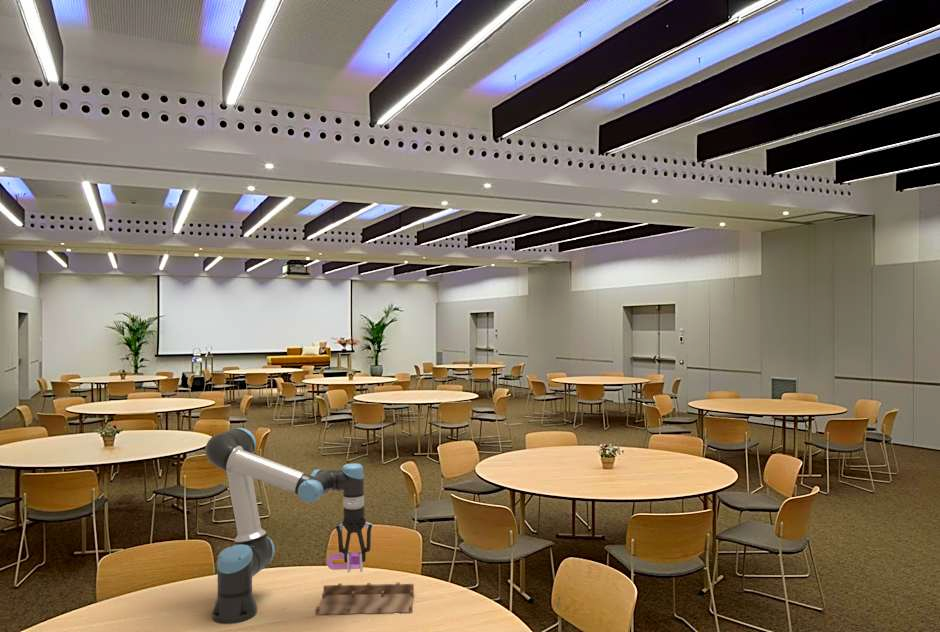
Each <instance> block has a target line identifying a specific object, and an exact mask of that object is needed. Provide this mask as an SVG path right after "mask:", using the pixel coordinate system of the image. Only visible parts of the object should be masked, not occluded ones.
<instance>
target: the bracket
mask: <svg viewBox="0 0 940 632" xmlns="http://www.w3.org/2000/svg"><path fill="white" fill-rule="evenodd" d="M349 552H350V551H349ZM360 552H361V551H353V552H350V563H351V565H350V569H351V570H357V569H358V570H360ZM334 560H344V553H342V552H341V553H340V552H339V553H332V554H330V555H329V556H328V558H327V560H326V565H327V567H328V569H330V570H332V571H335V570H336V571H339V570H341V571H342V570H347V563H336V564H335V563H334V562H333V561H334Z"/></svg>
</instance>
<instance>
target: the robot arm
mask: <svg viewBox="0 0 940 632" xmlns="http://www.w3.org/2000/svg"><path fill="white" fill-rule="evenodd" d="M256 447H257V440H256V438H255V435H254V434H253V433H252V431H249V430H248V429H247V428H243V427H238V428H231V429H229V430H226V431H224V432H219V433H216V434H214V435H212V437H210V439H208V440H207V443H206V445H205V448H204V450H205V451H204V454H205V458H206V459H207V461H208V462H209V463H210V464H212V465H213V466H215V467H217V468H218V469H220V470H223V471H225V472H226V473H227V480H228V484H229V491H230V496H231V497H230V498H231V502H232V503H231V504H232V509H233V516H234V521H235V527H236V532H237V535H236V537H235V539H233V540H234V544H233V545H232V546H228V547H226V548H224V549H223V550H221V551H219V554H218V555H217V562H216V566H217V567H216V568H217V570H216V571H217V573H216V574H217V575H216V576H217V596H216V599H215V602H214V606H213V610H212V613H211V614H212V615H211V617H212V621H213V622H215V623H218V624H224V625H231V624H239V623H242V622H243V623H244V622H245V621H248V620H250V619H253V618H254V617H255V616H256V615H257V614H258V604H257V602H256V598H255V596H254V593H253V577H254V576H256V575H257V574H258V573H259V572H261V571H262V570H263V569H266V568H267V567H268V565H269V564H270V563H271V562H272V561H273V559H274V556H275V550H276V549H275V544H274V542H273V540H272V539H271V538H270V537H269V536H268V534H267V531H266V530H264V529H263V528H262V526H261V518H260V514H259V507H258V501H257V496H256V492H255V491H256V490H255V484H254V479H256V480H259V481H261V482H264V483H267V484H269V485H271V486H274V487H277V488H280V489H282V490H284V491H287V492H290V493H293V494H295V495H298V497H299V499H300V500H301V501H302V502H303V503H307V504H309V503H314V502H315V501H317V500H320V499H321V497H323V496H324V495H326V494H327V493H328V492H330V491H331V492H332V491H334V492H335V491H339V492H341V491H342V493H343V504H342V505H343V520H342V522H341V523H337V524H336V526H335V529H336V532H337V541H338V543H337V544H338V552H339V554H340V553H344V559H343V562H344V564H346V563H347V569H346V570H347V571H346V572H347V573H350V572H351V570H352V569H350V565H351V563H350V551H349V548H350V543H351V539H352V538H351V536H352V534H354V533H355V534H357V537H358V542H359V543H358V544H359V546H360V551H359V552H360V569H359V572H360V573H362V572H363V571H364V563H365V562H366V559H367V557H366V554H367V552H371V551H370V550H371V545H372V542H371V541H372V528H373V526H374V525H373V524H374V523H373V522H367V520H366V517H365V507H364V506H365V490H364V489H365V475H364V467H363V465H362V464H361V463H346V464H344V465H343V466H342V469H325V468H320V469H315V470H313V471H312V472H311V474H307V473H305V472H302V471H299V470H297V469H294V468H292V467H289V466H287V465H283V464H281V463H279V462H275V461H273V460H271V459H268V458H265V457H262V456H261V455H258V454H255V453H254V452H255V450H256ZM364 527H365V529H366V545H365V540H364V536H363V529H364ZM343 529H345V530H346V531H347V533H346V539H345V544H344V540H343Z"/></svg>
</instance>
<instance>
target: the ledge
mask: <svg viewBox="0 0 940 632" xmlns="http://www.w3.org/2000/svg"><path fill="white" fill-rule="evenodd" d="M414 584H415V583H401V582H400V581H399V582H396V583H384V584H383V583H379V584H371V582H367V583H366V584H342V583H341V582H340V583H337V584H331V585H329V584H328V585H327V584H324V585H323V591H322V593H321V595H322V596H321V597H322V598H321V600H320V603H319V604H318V606H316V608H315V617H316V616H317V617H318V616H352V615H353V616H355V615H356V614H365V615H395V614H394V613H399V614H400V615H401V614H403V613H404V614H412V613H413V604H414V595H415V594H414V589H415V587H414ZM354 614H355V615H354ZM356 616H357V615H356Z"/></svg>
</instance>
